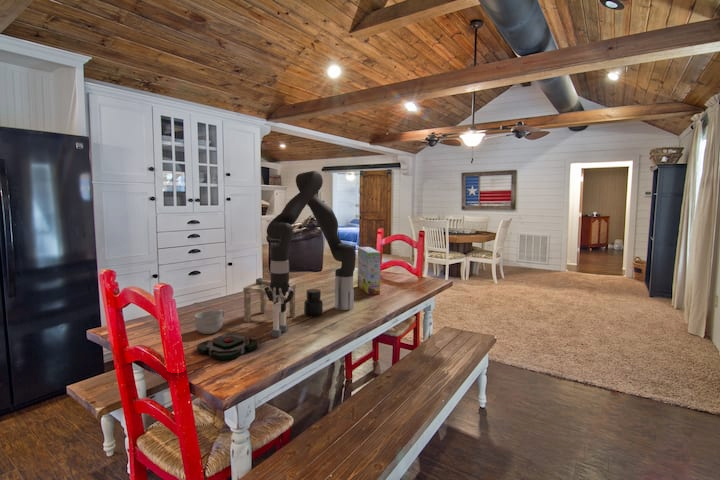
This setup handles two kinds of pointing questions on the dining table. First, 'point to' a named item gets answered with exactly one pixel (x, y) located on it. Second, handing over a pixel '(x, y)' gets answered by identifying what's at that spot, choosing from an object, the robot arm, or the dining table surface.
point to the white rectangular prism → (276, 326)
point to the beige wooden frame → (263, 298)
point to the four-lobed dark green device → (227, 346)
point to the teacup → (209, 321)
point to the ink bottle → (313, 303)
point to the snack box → (369, 270)
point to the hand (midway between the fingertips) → (279, 311)
